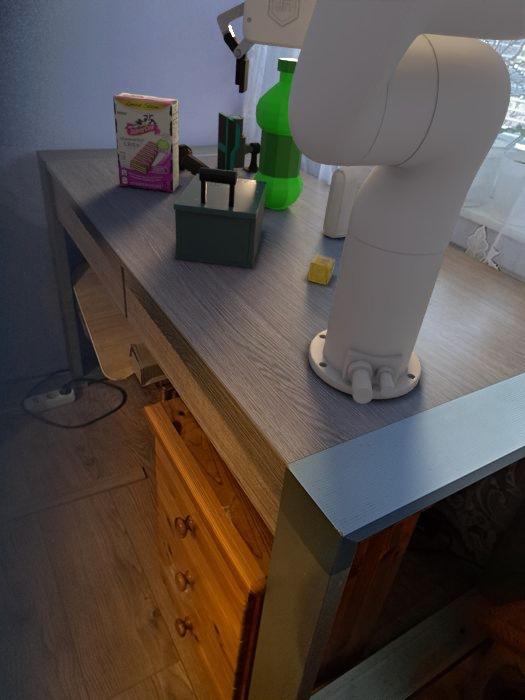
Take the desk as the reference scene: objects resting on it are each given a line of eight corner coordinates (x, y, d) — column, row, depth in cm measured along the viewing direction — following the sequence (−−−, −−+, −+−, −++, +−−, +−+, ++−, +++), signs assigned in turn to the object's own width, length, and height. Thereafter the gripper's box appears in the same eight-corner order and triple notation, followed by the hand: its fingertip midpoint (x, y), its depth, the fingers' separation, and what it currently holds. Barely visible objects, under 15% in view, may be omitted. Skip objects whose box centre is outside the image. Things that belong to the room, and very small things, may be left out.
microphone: (235, 203, 103) (179, 167, 113) (244, 177, 101) (187, 142, 110) (217, 200, 99) (160, 162, 109) (227, 173, 97) (168, 137, 106)
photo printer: (360, 224, 91) (374, 156, 84) (376, 232, 89) (392, 163, 82) (318, 232, 86) (330, 160, 79) (333, 241, 84) (347, 167, 76)
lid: (255, 219, 67) (259, 178, 64) (173, 209, 67) (172, 168, 64) (266, 186, 80) (269, 151, 76) (196, 178, 80) (197, 142, 77)
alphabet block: (332, 277, 72) (335, 258, 71) (327, 285, 70) (331, 266, 68) (312, 272, 73) (315, 253, 71) (307, 280, 71) (310, 261, 69)
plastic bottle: (305, 215, 93) (326, 65, 78) (250, 212, 92) (261, 59, 77) (298, 198, 101) (316, 59, 86) (248, 195, 100) (258, 53, 85)
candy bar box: (118, 186, 97) (111, 95, 87) (127, 179, 101) (120, 91, 91) (173, 193, 96) (172, 102, 87) (179, 186, 100) (178, 98, 91)
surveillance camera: (269, 117, 106) (226, 117, 103) (264, 173, 113) (224, 175, 110) (258, 112, 110) (217, 111, 107) (255, 166, 117) (216, 167, 114)
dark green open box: (252, 268, 72) (256, 218, 68) (175, 258, 73) (175, 208, 68) (262, 231, 84) (266, 187, 80) (196, 223, 85) (196, 178, 80)
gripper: (213, -79, 54) (209, 92, 64) (368, -64, 53) (339, 108, 63) (226, -70, 60) (221, 85, 70) (365, -56, 59) (339, 99, 69)
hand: (277, 96), depth 66 cm, fingers open, 9 cm apart
